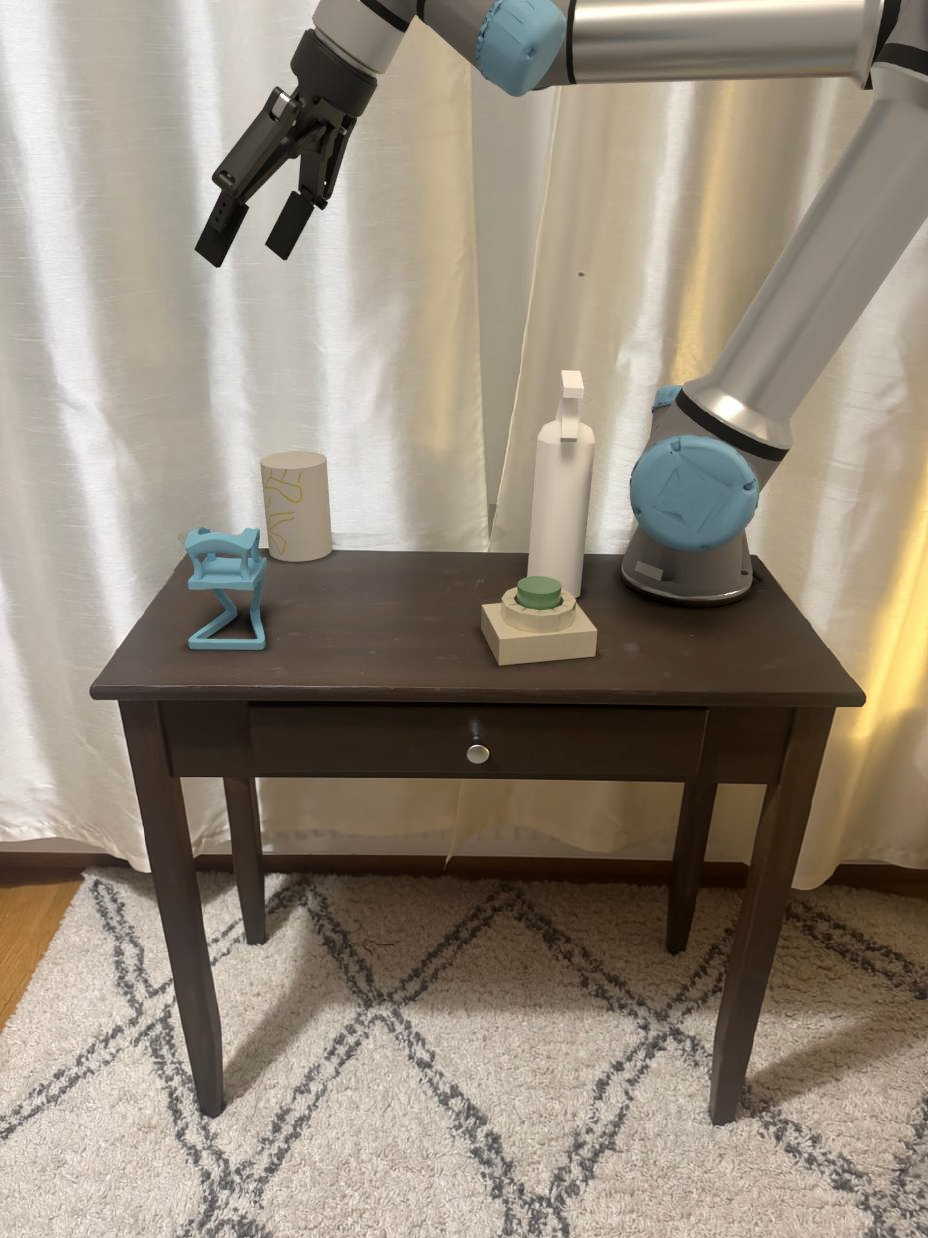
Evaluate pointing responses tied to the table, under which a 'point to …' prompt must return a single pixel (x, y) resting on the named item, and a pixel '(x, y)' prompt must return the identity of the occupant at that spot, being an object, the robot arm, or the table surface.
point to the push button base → (537, 631)
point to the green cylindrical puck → (539, 593)
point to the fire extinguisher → (562, 491)
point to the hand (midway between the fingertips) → (243, 255)
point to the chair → (227, 582)
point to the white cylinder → (297, 505)
